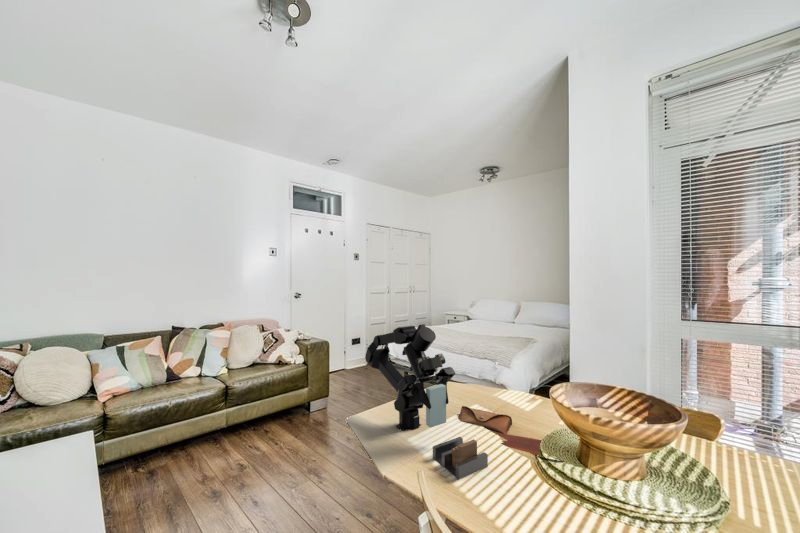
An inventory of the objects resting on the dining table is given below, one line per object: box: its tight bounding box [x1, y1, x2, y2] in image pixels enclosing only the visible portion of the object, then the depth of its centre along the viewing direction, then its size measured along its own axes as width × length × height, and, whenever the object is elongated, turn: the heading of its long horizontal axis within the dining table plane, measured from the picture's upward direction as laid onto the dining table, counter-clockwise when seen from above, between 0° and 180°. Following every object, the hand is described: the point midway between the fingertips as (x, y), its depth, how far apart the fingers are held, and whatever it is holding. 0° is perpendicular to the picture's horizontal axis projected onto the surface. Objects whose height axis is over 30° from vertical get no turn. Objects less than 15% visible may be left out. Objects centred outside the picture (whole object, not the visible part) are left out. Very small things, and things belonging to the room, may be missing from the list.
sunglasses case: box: [458, 405, 513, 434], centre depth 111 cm, size 18×7×7 cm
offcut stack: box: [452, 439, 478, 469], centre depth 85 cm, size 4×6×6 cm, turn 121°
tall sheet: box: [425, 384, 447, 428], centre depth 96 cm, size 2×6×11 cm, turn 121°
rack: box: [432, 436, 489, 480], centre depth 87 cm, size 11×10×4 cm
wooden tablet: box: [492, 431, 543, 457], centre depth 97 cm, size 27×10×2 cm, turn 65°
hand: (439, 405), depth 94 cm, fingers closed on tall sheet, 6 cm apart
